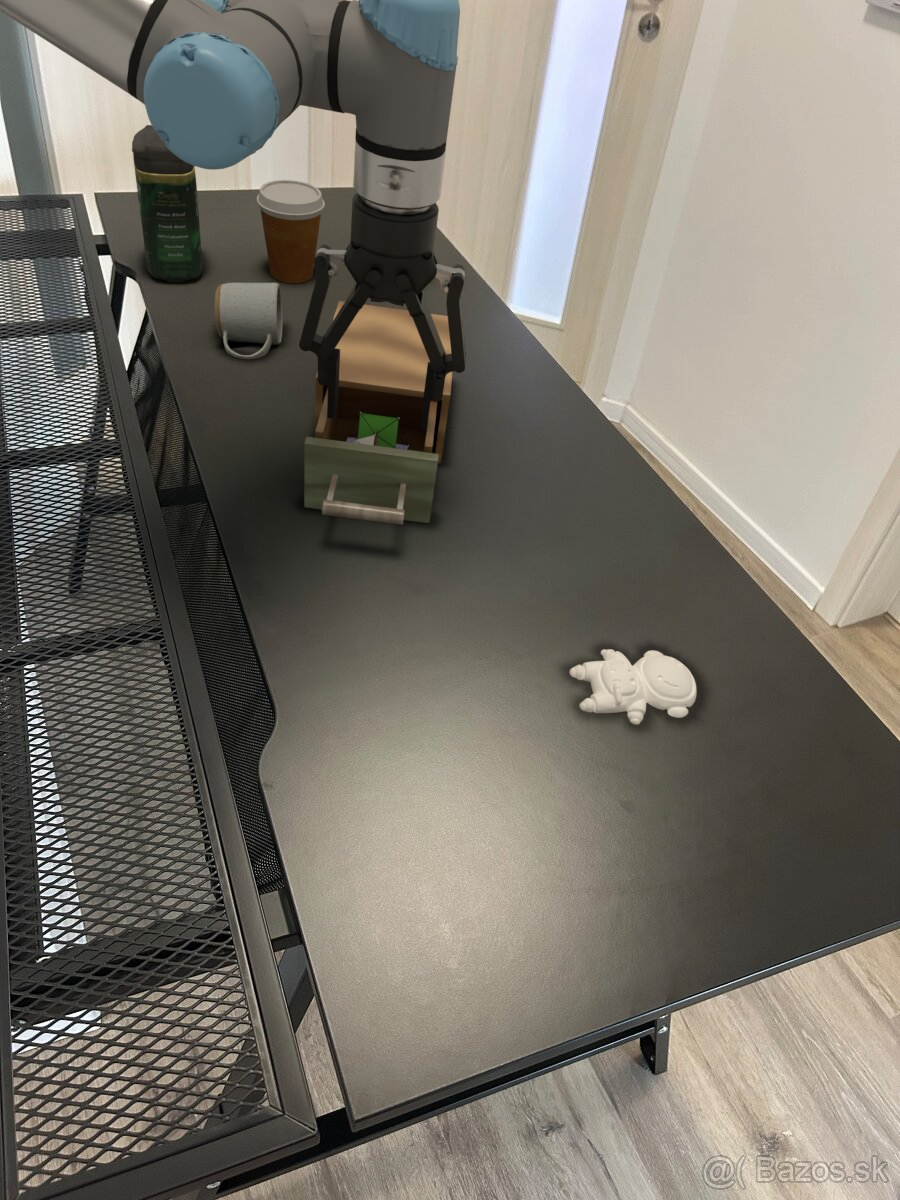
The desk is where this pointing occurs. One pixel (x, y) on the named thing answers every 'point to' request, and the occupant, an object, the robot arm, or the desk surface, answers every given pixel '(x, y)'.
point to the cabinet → (388, 358)
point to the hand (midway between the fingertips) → (378, 417)
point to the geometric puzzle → (378, 431)
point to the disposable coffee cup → (291, 227)
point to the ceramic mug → (249, 315)
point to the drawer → (371, 461)
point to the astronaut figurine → (637, 685)
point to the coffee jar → (167, 209)
